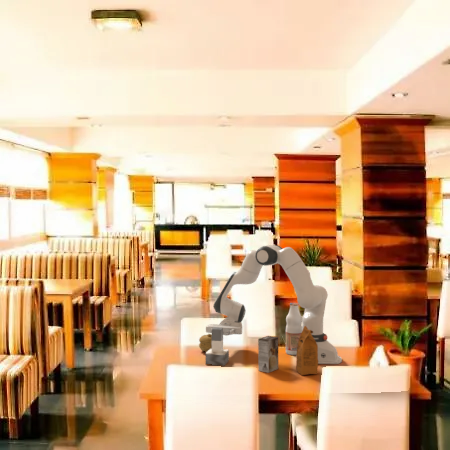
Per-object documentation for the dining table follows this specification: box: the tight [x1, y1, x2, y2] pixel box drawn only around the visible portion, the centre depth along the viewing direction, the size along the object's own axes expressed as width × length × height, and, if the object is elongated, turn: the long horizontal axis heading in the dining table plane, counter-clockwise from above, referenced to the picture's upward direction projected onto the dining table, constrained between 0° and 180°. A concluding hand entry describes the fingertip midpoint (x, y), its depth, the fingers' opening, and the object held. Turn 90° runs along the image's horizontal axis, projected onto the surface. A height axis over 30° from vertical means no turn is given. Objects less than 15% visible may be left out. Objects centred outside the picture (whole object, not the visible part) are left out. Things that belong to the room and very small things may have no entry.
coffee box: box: [257, 335, 279, 374], centre depth 279 cm, size 9×6×16 cm
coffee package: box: [295, 326, 319, 376], centre depth 275 cm, size 10×12×22 cm
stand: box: [205, 348, 230, 367], centre depth 293 cm, size 10×10×6 cm
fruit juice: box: [285, 302, 303, 356], centre depth 312 cm, size 9×9×28 cm
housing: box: [211, 327, 224, 353], centre depth 292 cm, size 5×5×12 cm
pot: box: [198, 333, 212, 353], centre depth 316 cm, size 12×12×10 cm
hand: (221, 332), depth 301 cm, fingers open, 8 cm apart
